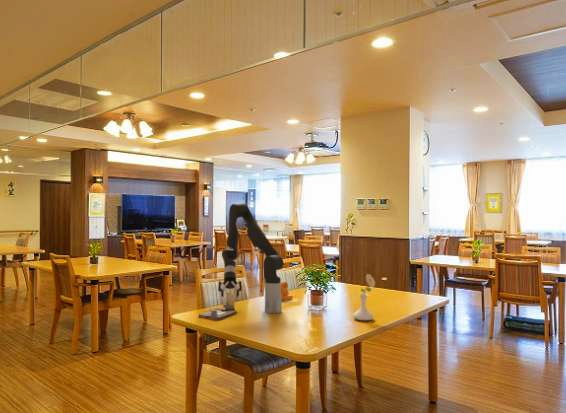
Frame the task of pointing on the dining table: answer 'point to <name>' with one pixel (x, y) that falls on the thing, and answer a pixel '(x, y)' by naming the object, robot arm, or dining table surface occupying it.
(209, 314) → the coupling base
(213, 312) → the driven shaft
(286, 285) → the bracket
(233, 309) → the coupler
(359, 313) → the flower in vase
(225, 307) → the drive shaft
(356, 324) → the dining table surface
